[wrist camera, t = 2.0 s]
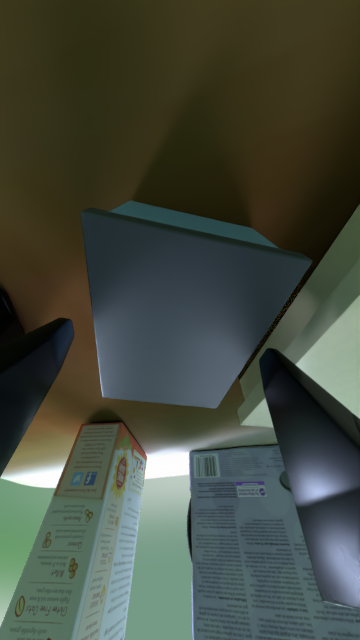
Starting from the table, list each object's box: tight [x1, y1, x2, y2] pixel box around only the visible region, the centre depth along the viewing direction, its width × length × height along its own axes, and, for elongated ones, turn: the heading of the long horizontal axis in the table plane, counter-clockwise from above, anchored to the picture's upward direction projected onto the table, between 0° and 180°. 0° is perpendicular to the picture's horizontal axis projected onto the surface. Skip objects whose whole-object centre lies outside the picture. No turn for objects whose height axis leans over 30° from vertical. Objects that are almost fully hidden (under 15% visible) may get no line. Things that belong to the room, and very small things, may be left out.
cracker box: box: [0, 422, 147, 640], centre depth 20 cm, size 14×6×21 cm, turn 6°
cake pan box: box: [187, 445, 360, 640], centre depth 24 cm, size 19×5×18 cm, turn 105°
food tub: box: [81, 201, 312, 409], centre depth 10 cm, size 7×9×5 cm
